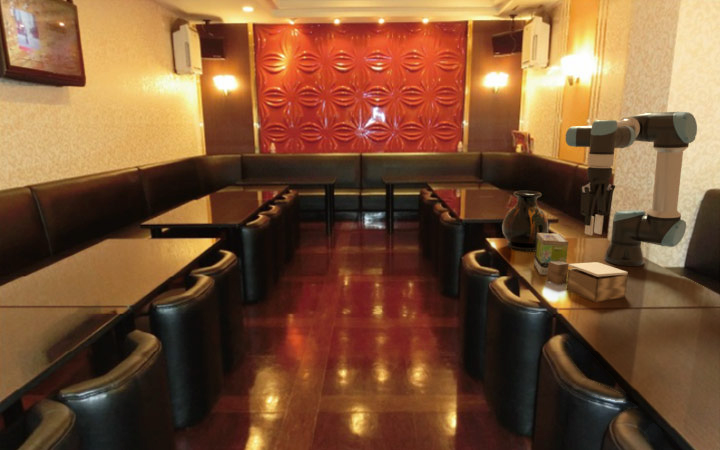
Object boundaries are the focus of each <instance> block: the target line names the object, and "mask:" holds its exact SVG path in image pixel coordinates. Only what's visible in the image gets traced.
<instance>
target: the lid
mask: <svg viewBox="0 0 720 450" xmlns="http://www.w3.org/2000/svg"><path fill="white" fill-rule="evenodd" d="M569 267H570V268H571V269H574V268H575V269H578V270H580V271H583V272H586V273H589V274H591V275H594V276H597V277H600V276H613V275H628V271H626V270H624V269H623V270H622V269H620V268H616V267H613V266H610V265H608V264H605V263H601V262H598V261H596V262H595V261H593V262H580V263H579V262H577V263H568V268H569Z"/></svg>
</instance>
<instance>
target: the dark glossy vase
mask: <svg viewBox="0 0 720 450" xmlns="http://www.w3.org/2000/svg"><path fill="white" fill-rule="evenodd" d="M513 195H514V197H516V198H517V202H516V204H515V205H514V206H513V207H511V208H510V209H509V210H508V211H507V212H506V214H505V216H504V219H503V221H502V224H501V229H502V234H503V236H504V237H505V239H506V240H507V243H506V246H507V248H509V249H511V250H513V251H518V252H525V253H526V252H528V253H529V252H535V249H536V237H537V233H549V221H548V218H547V216H546V214H545V212H544V211H543V210H542V209H541V208H540V206H539V204H537V200H538V198H540V197H541V196H542V195H543V194H542V193H541V192H539V191H532V190H518V191H514V192H513Z"/></svg>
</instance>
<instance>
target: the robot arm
mask: <svg viewBox="0 0 720 450" xmlns="http://www.w3.org/2000/svg"><path fill="white" fill-rule="evenodd" d="M697 132H698V125H697V120H696V117H695V115H693V114H692V113H691V112H687V111H665V112H646V113H641V114H640V113H639V114H635V115H631V116H625V117H622V118H620V120H613V119H612V120H610V119H609V120H606V119H605V120H594V121H593V122H592V124H590V125H581V126H579V125H577V126H570V127H569V128H568V129H567V130H566V133H565V138H564V139H565V143H566V144H567V145H568V146H569V147H575V148H589V152H588V154H589V155H588V162H587V164H588V167H587V170H586V178H587V179H588V181H587V183H586V184H585V185H581V186H580V192H581V194H580V195H581V197H580V214H581V215H583V216H584V234H585V235H588V236H593V234H596V235H602V232H603V225H604V222H605V216H606V217H607V216H608V215H609V214H610V212H611V208H612V202H613V201H612V200H613V195H614V191H615V188H616V185H615V184H611V183H610V179H611V178H612V177H613V176H612V175H613V166H614V158H615V149H625V148H628V147H630V146H632V145H633V144H634V142H635V141H636V142H646V143H653V146H652V147H653V149H654V150H655V151H656V163H655V172H654V185H653V194H652V203H651V204H652V205H651V209H650V210H648V211H647V213H646V211H645V210H642V209H641V210H639V209H628V210H627V209H626V210H618V211H616V212H615V213H614V216H613V219H612V227H611V238H610V244H609V245H608V248H607V250H606V252H605V253H604V261H606V262H607V263H610V264H614V265H617V266H618V265H619V266H627V267H639V266H643V265H644V259H645V258H644V255H643V250H642V243H646V244H651V245H657V246H660V247H668V248H674V247H677V246H678V244H680V243H681V242H682V240H683V238H684V236H685V233H686V230H687V222H686V221H685V220H684V219H681V218H682V214H681V213H680V211H678V205H679V196H680V195H679V194H680V184H681V176H682V167H683V166H682V165H683V154H684V151H685V150H686V149H688V148H689V145H690V144H691V143H693V142H694V141H695V140H696V136H697ZM596 203H597V204H596ZM596 205H597V206H596ZM595 206H596V207H597V208H596V209H597V214H595V216H593V215H594V211H595Z"/></svg>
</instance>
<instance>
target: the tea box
mask: <svg viewBox="0 0 720 450" xmlns="http://www.w3.org/2000/svg"><path fill="white" fill-rule="evenodd" d="M568 249H569V241H568V240H567V239H566V238H565V237H564V236H563V235H562V234H561V233H549V232H548V233H537V237H536V249H535V251H534V263H533V264H534V266H535V268H536V270H537V271H538V274H539V275H542V276H547V275H548V263H549V261H557V260H560V261H562V262H565V263H567V257H568Z"/></svg>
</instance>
